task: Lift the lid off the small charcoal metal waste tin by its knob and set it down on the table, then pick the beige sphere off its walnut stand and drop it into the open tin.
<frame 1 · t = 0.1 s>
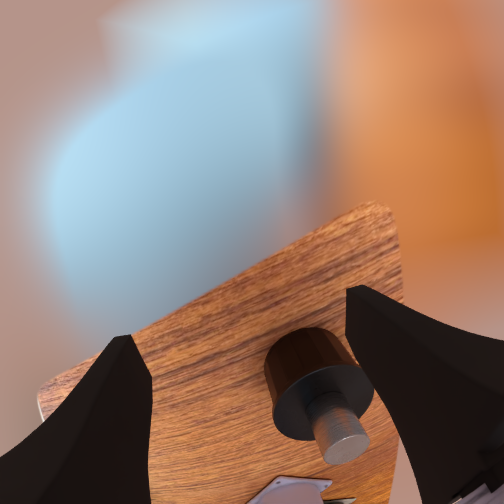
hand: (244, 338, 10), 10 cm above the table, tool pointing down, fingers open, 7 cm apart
waste tin: (304, 362, 23), on the table
lid: (323, 402, 18), point 5 cm above the table, touching waste tin
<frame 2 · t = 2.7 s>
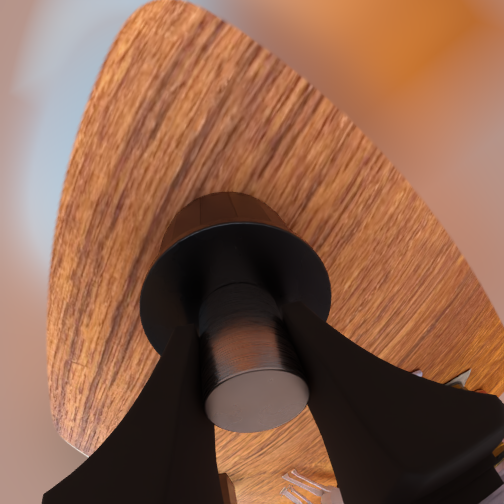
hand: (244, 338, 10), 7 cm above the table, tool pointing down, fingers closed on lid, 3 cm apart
waste tin: (226, 253, 16), on the table
lid: (236, 308, 11), point 5 cm above the table, touching gripper, waste tin
stand: (211, 482, 26), on the table
white flat pronged piece: (332, 476, 30), on the table, touching hamburger
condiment: (436, 400, 28), on the table
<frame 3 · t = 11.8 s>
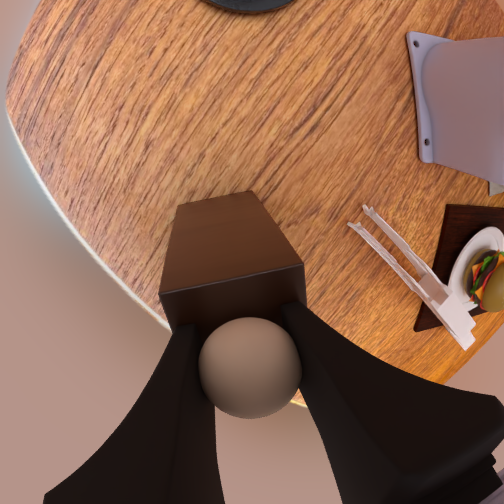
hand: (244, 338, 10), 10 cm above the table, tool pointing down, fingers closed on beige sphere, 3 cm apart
stand: (221, 232, 18), on the table
beige sphere: (250, 368, 8), point 11 cm above the table, touching gripper, stand
hamburger: (471, 265, 24), on the table, touching white flat pronged piece
white flat pronged piece: (414, 279, 22), on the table, touching hamburger
when the fingers open (5 cm above the table, at t = 18.1 s): beige sphere stays where it is, resting on waste tin.
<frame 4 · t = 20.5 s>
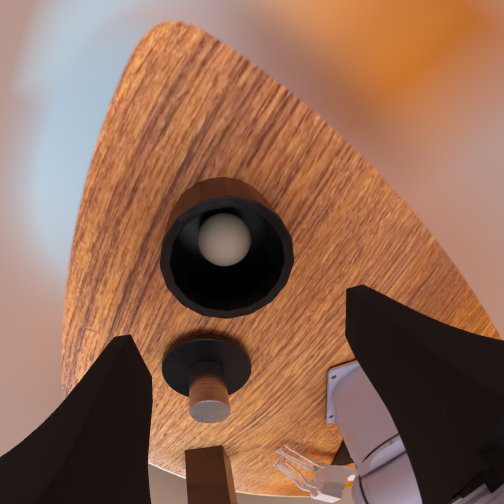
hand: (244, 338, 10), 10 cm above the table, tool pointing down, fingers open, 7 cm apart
waste tin: (221, 228, 19), on the table
lid: (206, 368, 23), point 1 cm above the table
stand: (208, 456, 30), on the table
beige sphere: (224, 239, 17), point 2 cm above the table, touching waste tin
hamburger: (375, 436, 35), on the table, touching white flat pronged piece
white flat pronged piece: (325, 454, 34), on the table, touching hamburger
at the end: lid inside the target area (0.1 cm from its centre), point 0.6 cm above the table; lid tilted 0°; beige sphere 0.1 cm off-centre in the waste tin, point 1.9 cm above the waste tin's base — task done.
